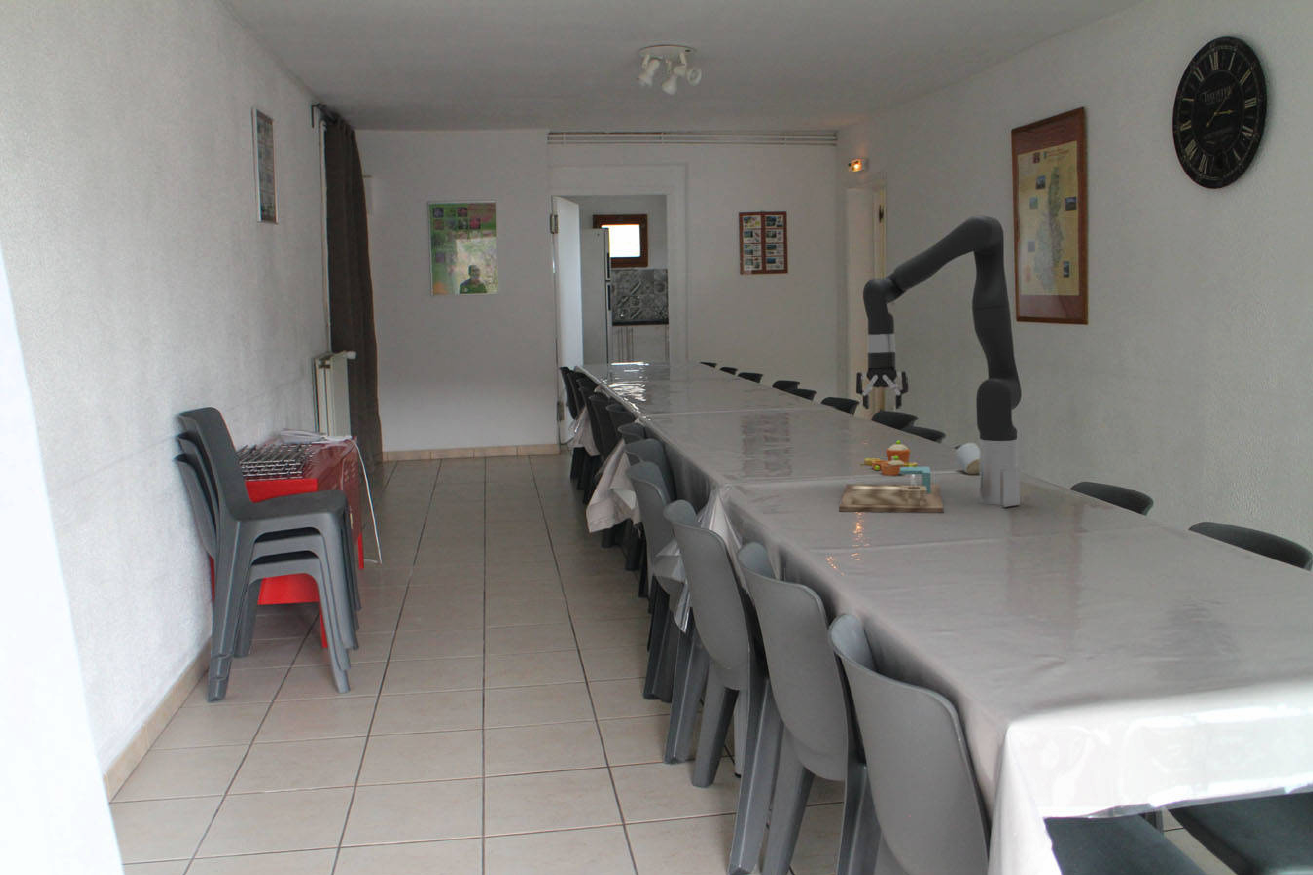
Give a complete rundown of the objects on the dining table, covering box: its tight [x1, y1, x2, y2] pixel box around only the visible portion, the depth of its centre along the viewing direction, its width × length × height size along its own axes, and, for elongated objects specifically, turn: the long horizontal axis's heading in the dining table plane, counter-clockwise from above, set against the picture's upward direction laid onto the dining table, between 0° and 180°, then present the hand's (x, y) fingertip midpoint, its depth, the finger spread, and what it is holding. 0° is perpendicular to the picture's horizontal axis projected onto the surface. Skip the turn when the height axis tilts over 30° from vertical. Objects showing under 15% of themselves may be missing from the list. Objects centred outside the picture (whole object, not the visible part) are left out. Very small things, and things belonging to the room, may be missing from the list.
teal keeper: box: [899, 466, 931, 493], centre depth 285 cm, size 8×12×6 cm
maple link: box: [852, 486, 926, 506], centre depth 266 cm, size 18×6×4 cm, turn 77°
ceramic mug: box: [954, 442, 980, 475], centre depth 315 cm, size 11×8×8 cm
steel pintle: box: [910, 474, 918, 486], centre depth 274 cm, size 2×2×6 cm
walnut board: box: [839, 484, 944, 514], centre depth 277 cm, size 26×36×1 cm
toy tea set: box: [860, 440, 919, 477], centre depth 325 cm, size 26×16×10 cm, turn 4°
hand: (882, 408), depth 289 cm, fingers open, 8 cm apart
